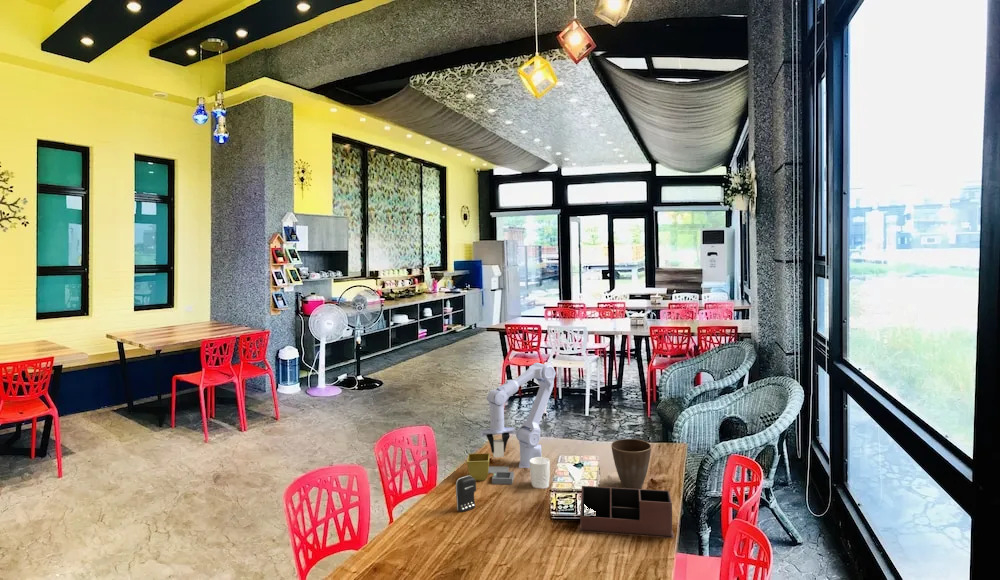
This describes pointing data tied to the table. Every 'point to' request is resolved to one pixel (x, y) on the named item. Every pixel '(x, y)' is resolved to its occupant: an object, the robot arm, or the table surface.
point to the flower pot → (478, 466)
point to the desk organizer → (627, 511)
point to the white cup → (540, 472)
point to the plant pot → (631, 461)
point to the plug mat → (497, 469)
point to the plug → (498, 448)
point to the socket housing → (503, 477)
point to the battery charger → (465, 493)
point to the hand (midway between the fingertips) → (498, 451)
